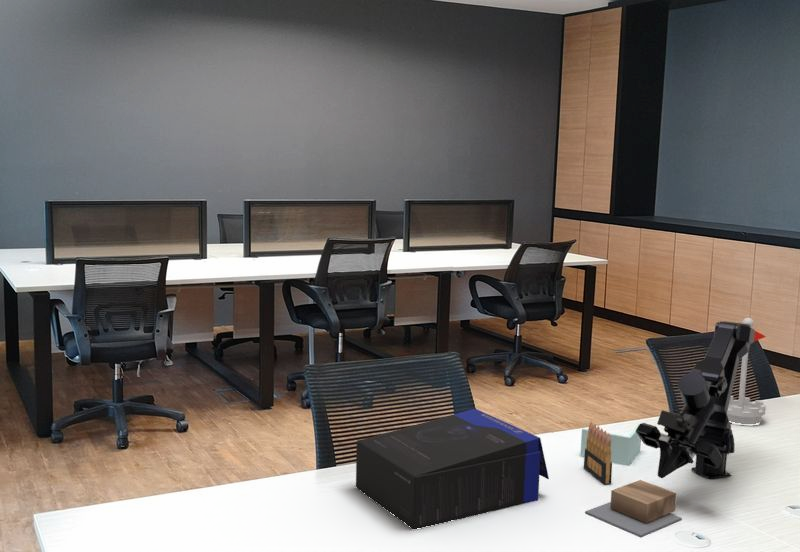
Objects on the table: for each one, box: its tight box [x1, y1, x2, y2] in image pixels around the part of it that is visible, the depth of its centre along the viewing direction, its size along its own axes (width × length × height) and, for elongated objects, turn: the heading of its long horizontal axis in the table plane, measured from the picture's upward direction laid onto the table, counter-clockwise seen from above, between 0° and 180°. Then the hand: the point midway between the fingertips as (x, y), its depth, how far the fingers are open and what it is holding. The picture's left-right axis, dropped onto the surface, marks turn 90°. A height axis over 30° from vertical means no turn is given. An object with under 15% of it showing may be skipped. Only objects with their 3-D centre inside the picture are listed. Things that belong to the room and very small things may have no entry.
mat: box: [584, 501, 683, 538], centre depth 180 cm, size 14×14×1 cm
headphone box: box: [355, 408, 550, 530], centre depth 189 cm, size 25×35×14 cm
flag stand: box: [727, 317, 767, 424], centre depth 246 cm, size 13×13×30 cm
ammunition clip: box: [583, 420, 613, 486], centre depth 201 cm, size 11×2×12 cm, turn 14°
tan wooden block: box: [610, 479, 677, 523], centre depth 182 cm, size 4×9×10 cm
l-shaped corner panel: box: [579, 423, 642, 467], centre depth 217 cm, size 12×12×8 cm
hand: (659, 476), depth 184 cm, fingers closed
